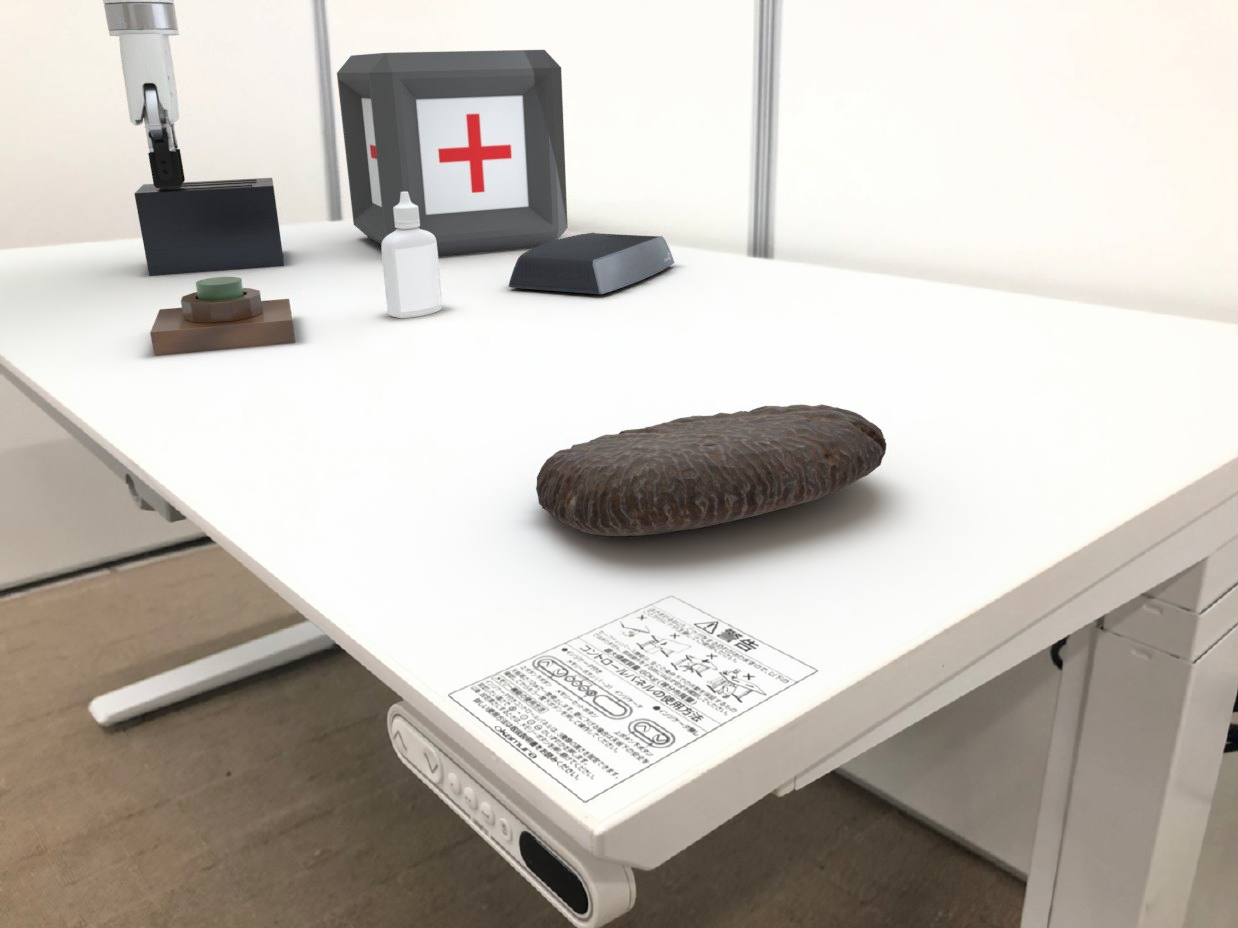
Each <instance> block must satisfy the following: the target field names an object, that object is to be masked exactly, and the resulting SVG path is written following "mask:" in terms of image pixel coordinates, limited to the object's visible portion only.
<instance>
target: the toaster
mask: <svg viewBox="0 0 1238 928" xmlns="http://www.w3.org/2000/svg"><path fill="white" fill-rule="evenodd" d="M133 195H134V199H135V205H136V210H137V216H138V217H137V218H138V222H139V226H140V233H141V238H142V244H143V249H144V254H145V260H146V266H147V271H148V276H149V277H156V276H157V277H158V276H169V275H171V276H172V275H184V274H197V273H208V272H209V273H211V272H224V271H225V272H226V271H235V270H236V271H237V270H249V269H251V270H252V269H264V268H265V269H266V268H275V267H285V260H284V253H283V252H284V251H283V246H282V244H283V243H282V238H281V231H280V230H281V229H280V223H279V216H278V209H277V202H276V201H277V200H276V194H275V185H274V179H273V177H260V178H259V177H257V178H240V179H237V178H236V179H222V180H221V179H220V180H201V181H200V180H199V181H186V182H185V181H184V182H183V183H182V185H181V188H177V189H159V188H157V187H155V186H154V184H153V183H143V184H142V185H141V186H140V187H139V188H137V190H136V191H134V193H133Z"/></svg>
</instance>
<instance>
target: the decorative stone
mask: <svg viewBox="0 0 1238 928" xmlns="http://www.w3.org/2000/svg"><path fill="white" fill-rule="evenodd" d="M886 451H887V442H886V438H885V437H884V433H883V431H882V429H881V428H879V427H878V426H877V425H876V424H875V423H873V422H871V421H869V420H868V419H866V418H865V417H864V416H863V415H861V414H859V413H857V412H855V411H852V410H849V409H845V408H839V407H836V406H831V405H827V404H822V403H821V404H818V405H809V404H802V403H801V404H790V405H787V406H785V405H784V406H781V405H763V406H760V407H755V408H753V409H751V410H749V411H747V410H744V411H743V410H739V411H736V412H733V413H728V412H718V413H715V414H712V415H691V416H685V417H679V418H675V419H673V420H670V421H667V422H661V423H659V424H654V425H651V426H645V427H643V428H631V429H624V430H621V431H620V432H619V433H614V434H604V435H603V434H602V435H601V436H598V437H596V438H594V439H590V440H589V441H586V442H581V443H577V444H572V446H571V447H570V448H566V449H565V448H564V449H560V450H558V451H556V452H555V453H554V454H552V456H549V457H548V458H547V459H546V460H545V461H544V463H543V464H542V465H541V468H540V470H539V472H538V474H537V476H536V487H535V491H536V494H537V500H538V504H539V505H540V506H541V509H542V510H545V511H546V512H548V514H549V515H550V516H551V517H552V518H555V519H557V520H558V521H559V522H561V523H563V524H565V525H567V526H569V527H571V528H573V529H576V530H579V531H580V532H582V533H586V534H590V535H597V536H606V537H634V536H635V537H636V536H637V537H638V536H649V535H650V536H651V535H659V534H665V533H671V532H673V533H674V532H679V531H680V532H681V531H686V530H697V529H701V528H706V527H712V526H716V525H720V524H725V523H730V522H735V521H738V520H744V519H748V518H752V517H756V516H760V515H764V514H768V513H772V512H776V511H779V510H782V509H786V508H790V507H794V506H798V505H802V504H806V503H810V502H813V501H816V500H818V499H821V498H823V497H825V496H826V495H828V494H830V493H833V492H836V491H838V490H842V489H844V488H846V487H848V486H850V485H852V484H854V483H856V482H858V481H859V480H861V479H863V478H865V477H867V476H869V475H870V474H871V473H872V472H874V471H875V470H876V469H878V468H879V467H880V466H881V465H882V462H883V458H884V457H885V455H886V453H887V452H886Z"/></svg>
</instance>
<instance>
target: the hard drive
mask: <svg viewBox="0 0 1238 928" xmlns="http://www.w3.org/2000/svg"><path fill="white" fill-rule="evenodd" d="M672 265H675V259H674V257H673V254H672V252H671V249H670V247H669V245H668V243H667V241H666V239H665V237H664V236H663V235H637V234H619V233H617V234H616V233H599V232H588V233H581V234H576V235H571V236H567V237H562V238H559V239H558V240H554V241H551V242H548V243H545V244H542V245H540V246H537V247H532V248H530V249H529V250H527V251H525V252H524V253H522V254H520V255H519V256H518V258H517V259H516V262H515V264H514V266H513V270H512V273H511V275H510V279H509V283H508V288H512V289H513V288H514V289H524V290H536V291H537V290H538V291H551V292H552V291H553V292H563V293H577V294H590V295H591V294H593V295H603V294H607V293H610V292H612V291H616V290H618V289H622V288H624V287H627V286H630V285H633V284H635V283H638V282H640V281H642V280H645V279H646V278H650V277H652V276H654V275H656V274H657V273H660V272H662V271H664V270H665V269H668V268H670V267H671V266H672Z"/></svg>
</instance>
